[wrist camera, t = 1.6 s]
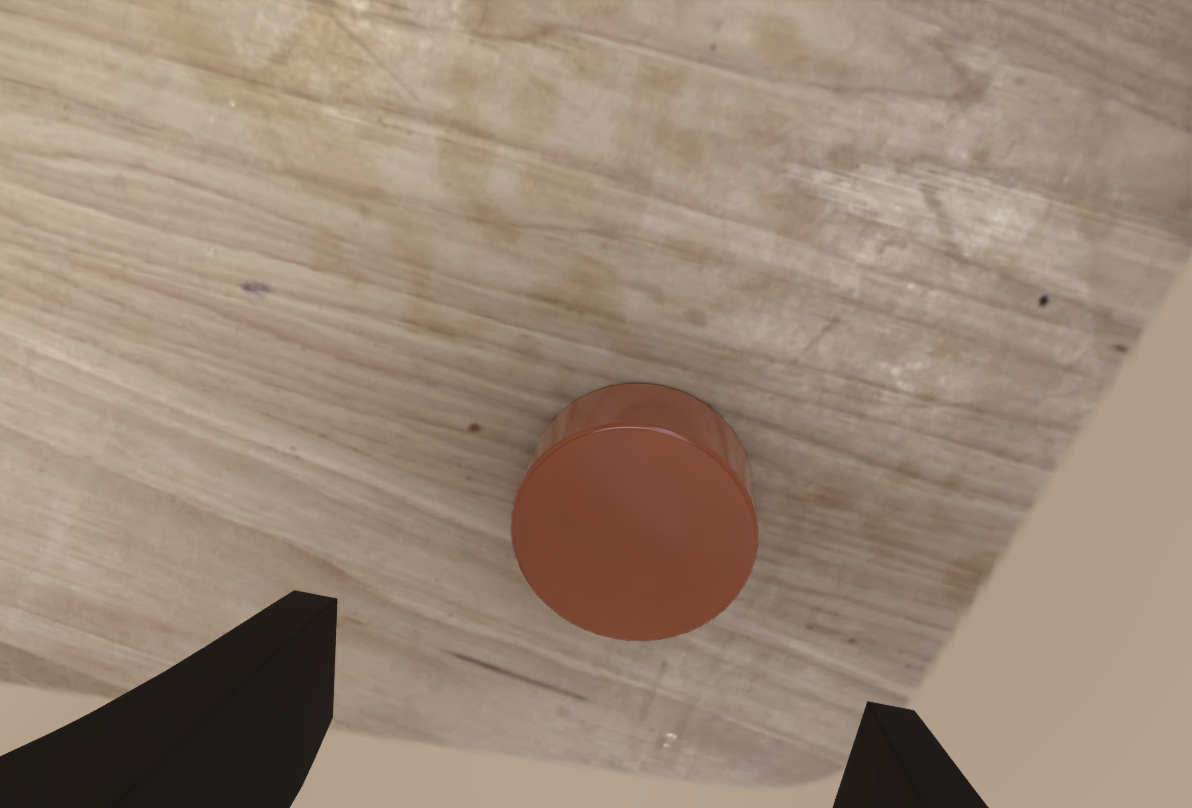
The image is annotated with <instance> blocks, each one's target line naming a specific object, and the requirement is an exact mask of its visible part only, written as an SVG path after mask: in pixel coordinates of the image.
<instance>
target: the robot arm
mask: <svg viewBox="0 0 1192 808" xmlns="http://www.w3.org/2000/svg"><path fill="white" fill-rule="evenodd" d="M336 624H337V598H332V597H326V596H321V595H316V594H311V593H306V592H301V591H295V590H294V591H293V592H291V593H289V594H288V595H286V596H284V597H283V598H281V599H279V600H278V601H276V602H275V603H273V604H271V605H270V606H268V607H267V608H265V609H264V610H262V611H261V612H259V613H257V614H256V615H254V616H253V617H251V618H250V619H248V620H246V621H245V622H243V623H242V624H240V625H239V626H237V627H235V628H234V629H232V630H231V631H229V632H228V633H226V634H224V635H223V636H221V637H220V638H218V639H217V640H215V641H213V642H212V643H210V644H209V645H207V646H205V647H204V648H202V649H201V650H199V651H197V652H196V653H194V654H192V655H191V656H189V657H188V658H186V659H184V660H183V661H181V662H179V663H178V664H176V665H174V666H173V667H171V668H170V669H168V670H166V671H165V672H163V673H161V674H159V675H157V676H156V677H154V678H152V679H150V680H149V681H147V682H145V683H143V684H141V685H140V686H138V687H136V688H134V689H132V690H131V691H129V692H127V693H125V694H123V695H122V696H120V697H118V698H116V699H115V700H113V701H111V702H109V703H107V704H106V705H104V706H102V707H100V708H98V709H97V710H95V711H93V712H91V713H89V714H87V715H85V716H83V717H81V718H80V719H78V720H76V721H74V722H72V723H70V724H68V725H66V726H64V727H62V728H60V729H58V730H56V731H54V732H51V733H50V734H47V735H45V736H43V737H41V738H39V739H37V740H35V741H32V742H30V743H28V744H26V745H24V746H21V747H20V748H17V749H15V750H13V751H11V752H8V753H6V754H4V755H2V756H0V808H290V806H291V805H292V803H293V801H294V799H295V798H296V796H297V794H298V793H299V791H300V789H301V787H302V785H303V783H304V781H305V779H306V777H307V775H308V772H309V770H310V768H311V766H312V764H313V761H314V759H315V757H316V755H317V753H318V750H319V748H320V746H321V743H322V741H323V739H324V737H325V734H326V732H327V730H328V727H329V725H330V723H331V720H332V718H333V701H334V675H335V649H336ZM833 808H988V806H987V805H986V804H985V802H984V801H983V800H982V799H981V797H980V796H979V795H978V793H977V792H976V791H975V790H974V788H973V787H972V786H971V784H970V783H969V782H968V780H967V779H966V778H965V776H964V775H963V774H962V773H961V771H960V770H959V768H958V767H957V766H956V764H955V763H954V762H953V760H952V759H951V758H950V757H949V755H948V754H947V753H946V751H945V750H944V749H943V747H942V746H941V745H940V743H939V742H938V741H937V739H936V738H935V737H934V735H933V734H932V733H931V731H930V730H929V729H928V727H927V726H926V725H925V723H924V722H923V721H922V720H921V718H920V717H919V716H918V715H917V713H916V712H915V711H914V710H910V709H905V708H900V707H894V706H889V705H884V704H879V703H874V702H869V701H867V704H866V707H865V710H864V713H863V716H862V719H861V723H860V726H859V729H858V732H857V735H856V738H855V741H854V744H853V747H852V750H851V753H850V756H849V759H848V762H847V765H846V768H845V771H844V774H843V777H842V780H841V784H840V787H839V790H838V793H837V796H836V799H835V802H834V805H833Z"/></svg>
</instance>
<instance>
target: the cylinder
mask: <svg viewBox="0 0 1192 808" xmlns="http://www.w3.org/2000/svg"><path fill="white" fill-rule="evenodd" d="M511 537H512V544H513V548H514V552H515V556H516V559H517V561H518V564H519V566H520V569H521V571H522V573H523V575H524V576H525V578H526V580H527V582H528V583H529V585H530V586H531V587H532V589H533V590H534V591H535V593H536V594H537V595H538V596H539V597H540V598H541V600H542V601H543V602H544V603H545V604H546V605H547V606H548V607H550V608H551V609H552V610H553V611H554V612H556V613H557V614H558V615H560V616H561V617H563V618H564V619H566V620H567V621H569V622H570V623H572V624H574V625H576V626H578V627H580V628H582V629H584V630H587V631H589V632H592V633H595V634H598V635H601V636H605V637H609V638H613V639H620V640H627V641H651V640H661V639H666V638H671V637H675V636H678V635H681V634H684V633H688V632H690V631H692V630H694V629H696V628H699V627H701V626H703V625H704V624H706V623H707V622H709V621H711V620H712V619H714V618H715V617H716V616H718V615H719V614H720V613H721V612H722V611H724V610H725V609H726V608H727V607H728V606H729V605H730V604H731V603H732V601H733V600H734V599H735V598H736V597H737V596H738V594H739V593H740V591H741V590H742V588H743V587H744V586H745V584H746V582H747V580H748V578H749V576H750V574H751V571H752V568H753V565H754V562H755V559H756V553H757V547H758V525H757V517H756V509H755V501H754V492H753V484H752V476H751V469H750V465H749V462H748V458H747V455H746V453H745V451H744V448H743V446H742V444H741V442H740V440H739V439H738V437H737V436H736V434H735V432H734V431H733V430H732V429H731V427H730V426H729V425H728V424H727V423H726V421H725V420H724V419H723V418H722V417H721V416H720V415H718V414H717V413H716V412H715V411H714V410H713V409H711V408H710V407H709V406H707V405H706V404H704V403H703V402H701V401H700V400H698V399H696V398H694V397H692V396H690V395H688V394H686V393H683V392H680V391H678V390H675V389H672V388H668V387H664V386H659V385H651V384H623V385H615V386H611V387H607V388H603V389H599V390H597V391H594V392H592V393H589V394H587V395H585V396H583V397H581V398H580V399H578V400H576V401H574V402H573V403H571V404H570V405H569V406H567V407H566V408H565V409H564V410H562V411H561V412H560V413H559V414H558V415H557V416H556V417H555V418H554V419H553V420H552V422H551V423H550V424H549V426H548V427H547V428H546V430H545V431H544V433H543V435H542V436H541V438H540V440H539V442H538V444H537V446H536V449H535V451H534V453H533V455H532V458H531V460H530V462H529V465H528V467H527V469H526V472H525V474H524V476H523V478H522V481H521V483H520V485H519V488H518V491H517V493H516V496H515V499H514V503H513V508H512V513H511Z"/></svg>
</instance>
